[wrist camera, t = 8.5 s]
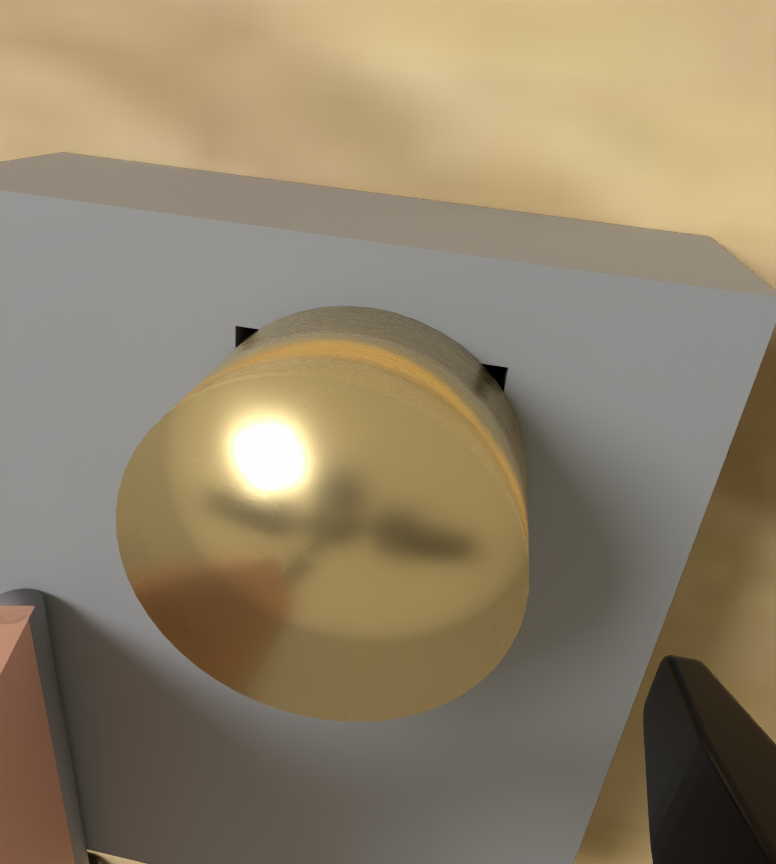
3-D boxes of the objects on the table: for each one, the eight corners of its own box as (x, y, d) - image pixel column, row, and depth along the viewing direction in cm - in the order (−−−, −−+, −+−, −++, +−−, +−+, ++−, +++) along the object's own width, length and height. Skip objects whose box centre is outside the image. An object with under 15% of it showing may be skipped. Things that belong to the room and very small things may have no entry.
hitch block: (534, 801, 22) (538, 957, 18) (125, 713, 24) (46, 839, 20) (709, 236, 14) (785, 297, 10) (61, 152, 15) (-97, 177, 11)
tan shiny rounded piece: (500, 508, 17) (489, 754, 11) (268, 468, 18) (131, 679, 12) (549, 270, 15) (573, 416, 8) (272, 232, 15) (96, 342, 9)
